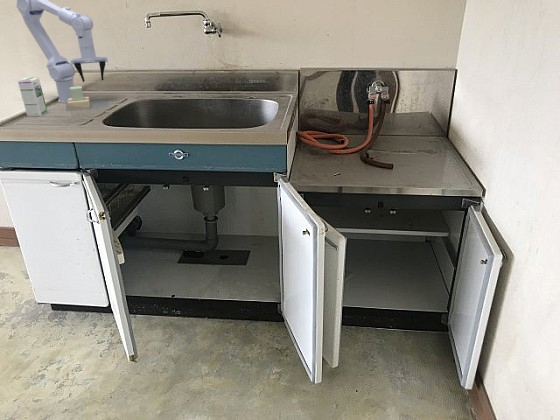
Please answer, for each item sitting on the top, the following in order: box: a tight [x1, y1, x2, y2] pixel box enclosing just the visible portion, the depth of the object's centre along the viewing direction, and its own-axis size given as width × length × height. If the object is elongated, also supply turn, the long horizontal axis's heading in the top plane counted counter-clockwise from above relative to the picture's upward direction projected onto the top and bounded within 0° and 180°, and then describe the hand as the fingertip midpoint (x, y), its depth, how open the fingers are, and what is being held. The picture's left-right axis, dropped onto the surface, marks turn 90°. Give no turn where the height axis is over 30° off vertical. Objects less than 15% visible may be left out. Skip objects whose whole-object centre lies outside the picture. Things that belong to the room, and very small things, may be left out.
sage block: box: [70, 85, 85, 101], centre depth 195 cm, size 4×4×5 cm
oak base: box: [67, 96, 91, 111], centre depth 197 cm, size 8×8×3 cm
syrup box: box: [17, 76, 48, 117], centre depth 186 cm, size 6×6×14 cm
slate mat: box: [65, 99, 110, 112], centre depth 200 cm, size 14×17×1 cm
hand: (93, 80), depth 203 cm, fingers open, 7 cm apart
